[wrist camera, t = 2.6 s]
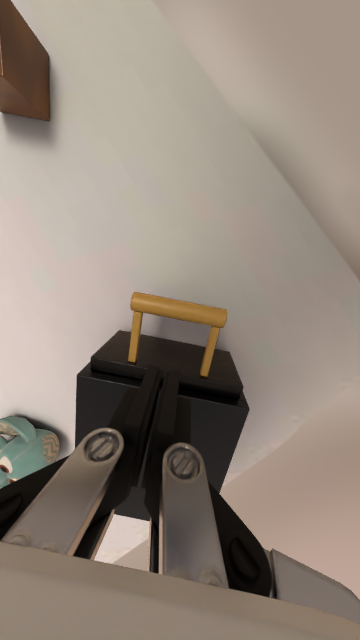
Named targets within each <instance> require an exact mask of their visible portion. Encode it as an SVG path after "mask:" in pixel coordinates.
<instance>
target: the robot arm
mask: <svg viewBox="0 0 360 640" xmlns="http://www.w3.org/2000/svg"><path fill="white" fill-rule="evenodd" d="M159 368H160V366H155V365H149V367H148V369H147V371H146V374H145V376H144V378H143V381H142V383H141V385H140V388H139V389H138V388H133V387H128V388H127V389H126V391H125V393H124V395H123V397H122V399H121V401H120V403H119V405H118V407H117V409H116V411H115V412H114V414H113V416H112V418H111V420H110V422H109V424H108V426H107V428H100V429H97V430H94V431H93V432H91V433H89V434H88V435H87V436H86V437H85V438H84V439H83V440H82V441H81V442H80V444H79V445H78V446H77V447H76V449H75V450H74V451H73V452H72V454H71V455H69V456H67V457H65V458H63V459H61V460H59V461H56V462H54V463H52V464H50V465H48V466H46V467H44V468H42V469H40V470H38V471H35V472H33V473H31V474H29V475H27V476H25V477H23V478H21V479H19V480H17V481H14V482H12V483H10V484H8V485H6V486H4V487H2V488H0V640H360V600H359V599H358V598H357V596H356V595H355V594H354V593H353V592H352V591H351V590H349V589H348V588H347V587H345V586H344V585H342V584H341V583H339V582H337V581H335V580H333V579H331V578H329V577H327V576H325V575H323V574H322V573H319V572H317V571H316V570H313V569H312V568H310V567H308V566H306V565H304V564H302V563H300V562H298V561H296V560H294V559H292V558H290V557H288V556H286V555H284V554H282V553H280V552H278V551H276V550H274V549H272V550H271V552H269V551H268V550H266V549H264V548H263V547H262V546H261V544H260V543H259V542H258V540H257V539H256V537H255V536H254V535H253V534H252V533H251V531H250V530H249V529H248V528H247V526H246V525H245V524H244V523H243V522H242V520H241V519H240V518H239V517H238V516H237V515H236V513H235V512H234V511H233V510H232V509H231V507H230V506H229V505H228V504H227V502H226V501H225V500H224V499H223V498H222V497H221V495H220V494H219V493H218V492H217V490H216V489H215V488H214V487H213V486H212V484H211V483H210V482H209V481H208V480H207V476H206V471H205V466H204V461H203V459H202V456H201V454H200V453H199V452H198V450H197V449H195V448H194V447H193V446H191V399H189V398H184V397H179V396H178V389H179V380H180V370H175V369H170V371H166V373H165V377H164V381H163V385H162V389H161V393H160V397H159V401H158V395H159V389H160V384H161V378H162V373H163V370H161V369H159ZM157 401H158V405H157ZM156 406H157V409H156ZM155 412H156V413H155ZM154 416H155V417H154ZM153 420H154V422H153ZM152 424H153V426H152ZM151 429H152V430H151ZM150 433H151V435H150ZM149 437H150V441H149ZM148 441H149V447H148V452H147V458H146V463H145V469H144V475H143V480H142V486H141V489H146V493H145V498H144V505H145V507H146V509H147V511H148V513H149V514H150V516H151V517H150V526H149V546H148V567H147V571H142V570H137V569H133V568H128V567H123V566H118V565H113V564H108V563H104V562H99V561H94V558H95V556H96V554H97V551H98V549H99V547H100V544H101V542H102V540H103V538H104V535H105V533H106V531H107V529H108V526H109V524H110V522H111V520H112V517H113V515H114V512H115V509H116V507H117V506H119V505H120V504H121V503H123V502H124V501H125V500H126V499H127V497H129V495H130V491H131V488H132V487H137V485H138V481H139V477H140V473H141V469H142V465H143V461H144V457H145V453H146V449H147V445H148Z"/></svg>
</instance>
